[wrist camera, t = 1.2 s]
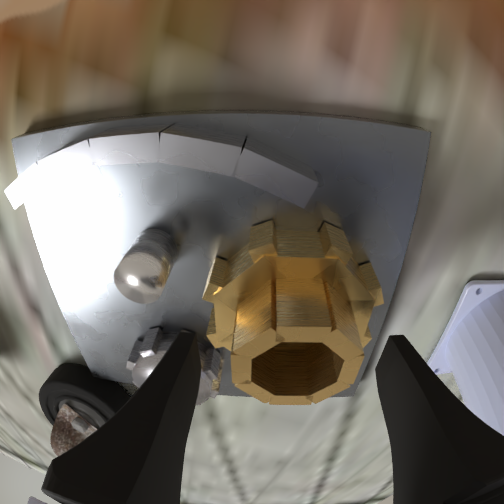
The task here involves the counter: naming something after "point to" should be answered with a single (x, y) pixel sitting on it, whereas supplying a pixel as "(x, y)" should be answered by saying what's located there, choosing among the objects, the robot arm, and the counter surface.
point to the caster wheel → (78, 404)
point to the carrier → (203, 217)
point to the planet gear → (292, 313)
